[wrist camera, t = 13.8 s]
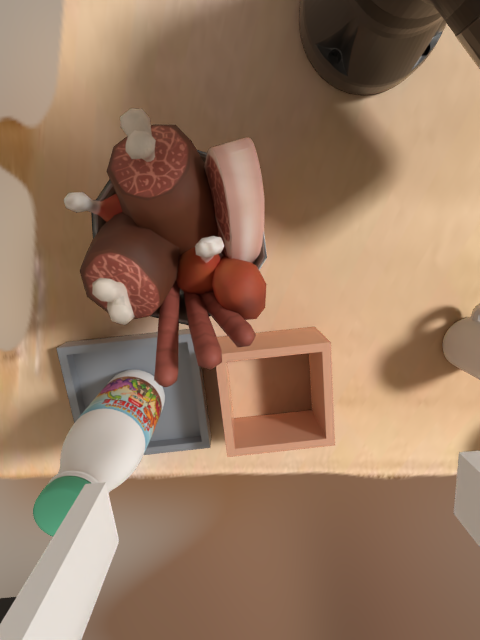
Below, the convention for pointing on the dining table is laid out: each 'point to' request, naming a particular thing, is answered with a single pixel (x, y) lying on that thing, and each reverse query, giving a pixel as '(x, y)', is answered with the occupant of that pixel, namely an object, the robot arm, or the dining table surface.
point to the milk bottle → (103, 444)
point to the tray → (140, 354)
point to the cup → (464, 344)
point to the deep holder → (282, 427)
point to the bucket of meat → (178, 239)
